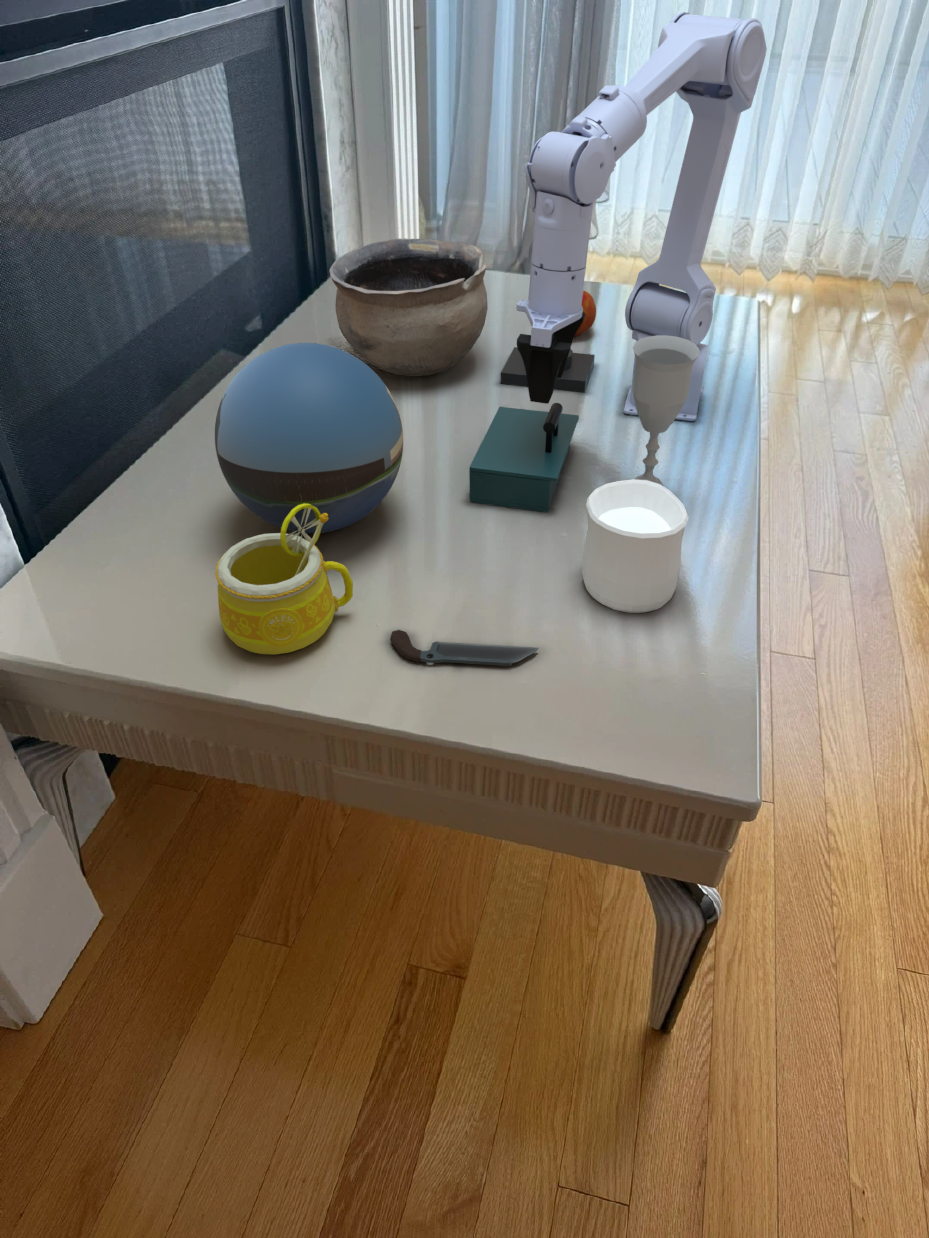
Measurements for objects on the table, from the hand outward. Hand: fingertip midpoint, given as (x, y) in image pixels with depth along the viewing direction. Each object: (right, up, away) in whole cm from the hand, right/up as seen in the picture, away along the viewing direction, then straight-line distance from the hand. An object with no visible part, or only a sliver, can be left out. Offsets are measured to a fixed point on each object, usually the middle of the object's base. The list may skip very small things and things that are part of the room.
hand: (546, 388), depth 102 cm
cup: (+7, -23, -10) cm, 26 cm away
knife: (-9, -29, -17) cm, 35 cm away
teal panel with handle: (-2, -5, +4) cm, 7 cm away
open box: (-2, -9, +7) cm, 11 cm away
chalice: (+12, -12, +3) cm, 17 cm away
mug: (-26, -27, -14) cm, 40 cm away
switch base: (+3, +9, +28) cm, 30 cm away
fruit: (+8, +18, +39) cm, 44 cm away
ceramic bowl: (-17, +12, +32) cm, 38 cm away
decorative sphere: (-25, -15, 0) cm, 29 cm away
